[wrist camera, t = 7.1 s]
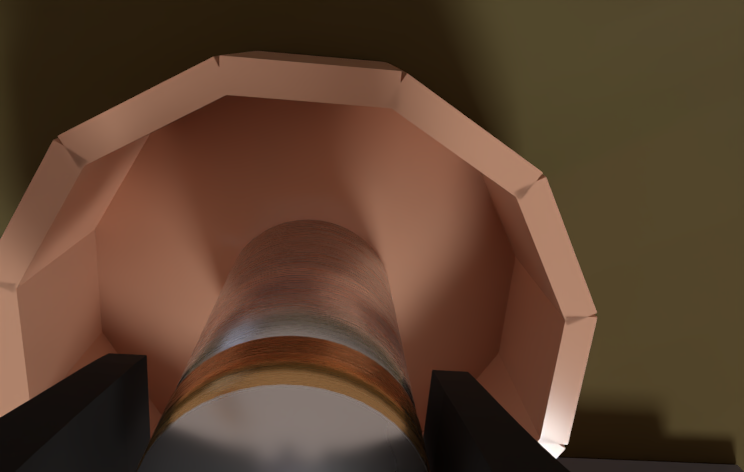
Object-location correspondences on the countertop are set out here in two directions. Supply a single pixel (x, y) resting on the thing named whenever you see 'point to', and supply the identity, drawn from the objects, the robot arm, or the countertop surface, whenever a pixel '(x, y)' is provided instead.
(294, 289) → the battery cell
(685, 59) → the countertop surface
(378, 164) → the cup
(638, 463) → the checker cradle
